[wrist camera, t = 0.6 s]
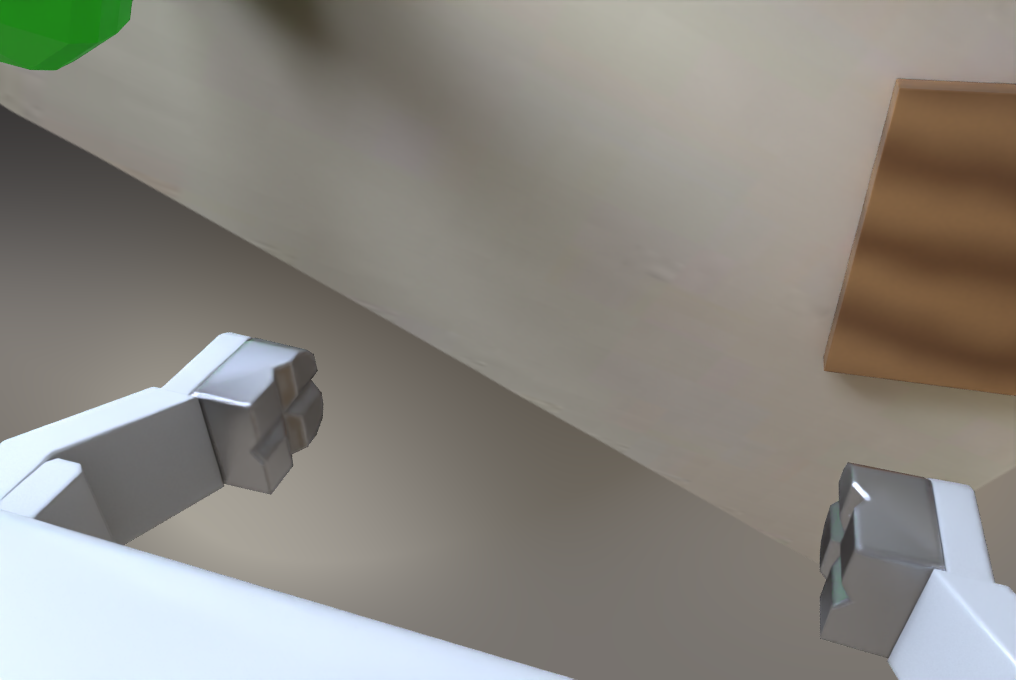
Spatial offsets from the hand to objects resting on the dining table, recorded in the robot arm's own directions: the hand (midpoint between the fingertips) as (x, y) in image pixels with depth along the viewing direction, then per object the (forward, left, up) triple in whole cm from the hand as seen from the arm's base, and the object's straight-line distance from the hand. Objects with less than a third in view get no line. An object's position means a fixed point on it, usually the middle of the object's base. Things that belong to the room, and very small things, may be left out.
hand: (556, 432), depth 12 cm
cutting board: (+18, +17, -38) cm, 46 cm away
